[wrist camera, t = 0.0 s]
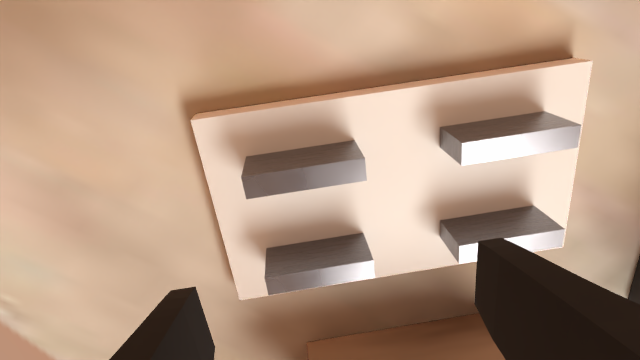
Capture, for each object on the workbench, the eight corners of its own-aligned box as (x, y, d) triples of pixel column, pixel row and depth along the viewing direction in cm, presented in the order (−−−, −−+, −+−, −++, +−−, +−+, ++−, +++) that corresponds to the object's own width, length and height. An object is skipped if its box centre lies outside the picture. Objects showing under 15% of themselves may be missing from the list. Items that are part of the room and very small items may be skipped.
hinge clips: (531, 221, 20) (562, 247, 18) (269, 264, 20) (268, 295, 18) (544, 111, 18) (581, 124, 16) (246, 156, 17) (241, 176, 15)
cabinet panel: (549, 235, 22) (563, 247, 21) (241, 285, 22) (239, 300, 21) (573, 57, 18) (592, 60, 17) (196, 113, 18) (190, 120, 16)
